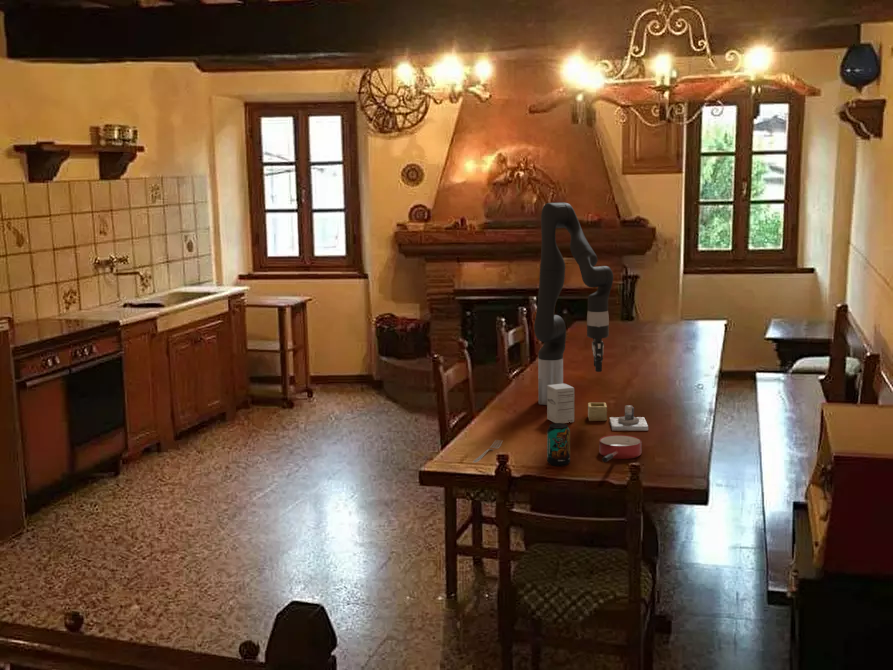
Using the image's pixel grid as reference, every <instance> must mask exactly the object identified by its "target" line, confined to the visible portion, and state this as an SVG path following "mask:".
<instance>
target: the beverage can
mask: <svg viewBox="0 0 893 670" xmlns="http://www.w3.org/2000/svg"><path fill="white" fill-rule="evenodd" d="M546 462H547V464H549V465H550V466H552V467H566V466H568V465H569V464H570V462H571V430H570V428H569V425H568V424H567V423H554V422H552V423H550V424H549V425H548V428H547V430H546Z"/></svg>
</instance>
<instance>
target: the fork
mask: <svg viewBox="0 0 893 670" xmlns="http://www.w3.org/2000/svg"><path fill="white" fill-rule="evenodd" d="M503 441H504V440H501V439H500V440H497V439H495V440H494V441H493V443H492V444H491V445H490V446H489V448H488V449H486V450H485V451H484V452H483V453H482V454H480V455H479V456H478V457H476V458H475V459H474V460H473V461H472V462H473V463H475V464H476V463H478V462H480V460H482V459H483V458H484V456H485V455H486V454H487V453H488V452H489V451H493V449H499V448H500V447H501V446H502V443H503Z"/></svg>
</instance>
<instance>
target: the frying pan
mask: <svg viewBox="0 0 893 670" xmlns="http://www.w3.org/2000/svg"><path fill="white" fill-rule="evenodd" d="M598 441H599V444H598V445H599V447H598V448H599V452H598V453H599V454H600V455H601V456H602V458H601V462H603V463H607V462H609V461H610V460H612V459H613V460H614V459H615V460H630V459H635V458H638V457H640V456H641V454H642V439H641V438H640V437H638V436H634V435H631V434H630V435H628V434H609V435H603V436H601V437H600V438H599V440H598Z"/></svg>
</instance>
